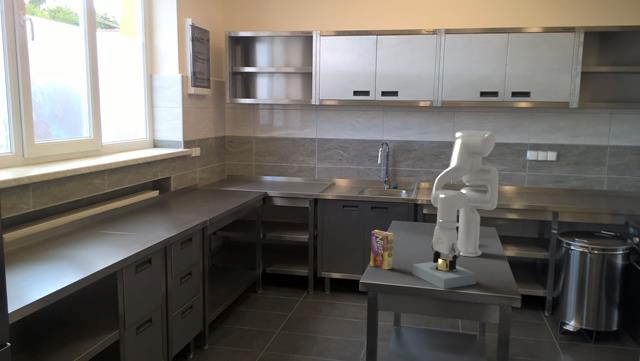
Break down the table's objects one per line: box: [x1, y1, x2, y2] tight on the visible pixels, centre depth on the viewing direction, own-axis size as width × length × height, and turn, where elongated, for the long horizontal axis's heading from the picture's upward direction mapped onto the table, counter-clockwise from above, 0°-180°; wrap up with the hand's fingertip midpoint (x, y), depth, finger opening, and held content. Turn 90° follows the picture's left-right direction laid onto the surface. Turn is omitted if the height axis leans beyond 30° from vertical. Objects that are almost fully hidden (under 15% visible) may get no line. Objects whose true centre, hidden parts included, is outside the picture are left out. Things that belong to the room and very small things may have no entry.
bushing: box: [438, 257, 450, 272], centre depth 212 cm, size 5×5×8 cm
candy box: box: [370, 229, 395, 270], centre depth 226 cm, size 9×4×15 cm, turn 47°
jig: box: [412, 261, 478, 290], centre depth 213 cm, size 20×16×4 cm
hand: (444, 265), depth 212 cm, fingers open, 9 cm apart
